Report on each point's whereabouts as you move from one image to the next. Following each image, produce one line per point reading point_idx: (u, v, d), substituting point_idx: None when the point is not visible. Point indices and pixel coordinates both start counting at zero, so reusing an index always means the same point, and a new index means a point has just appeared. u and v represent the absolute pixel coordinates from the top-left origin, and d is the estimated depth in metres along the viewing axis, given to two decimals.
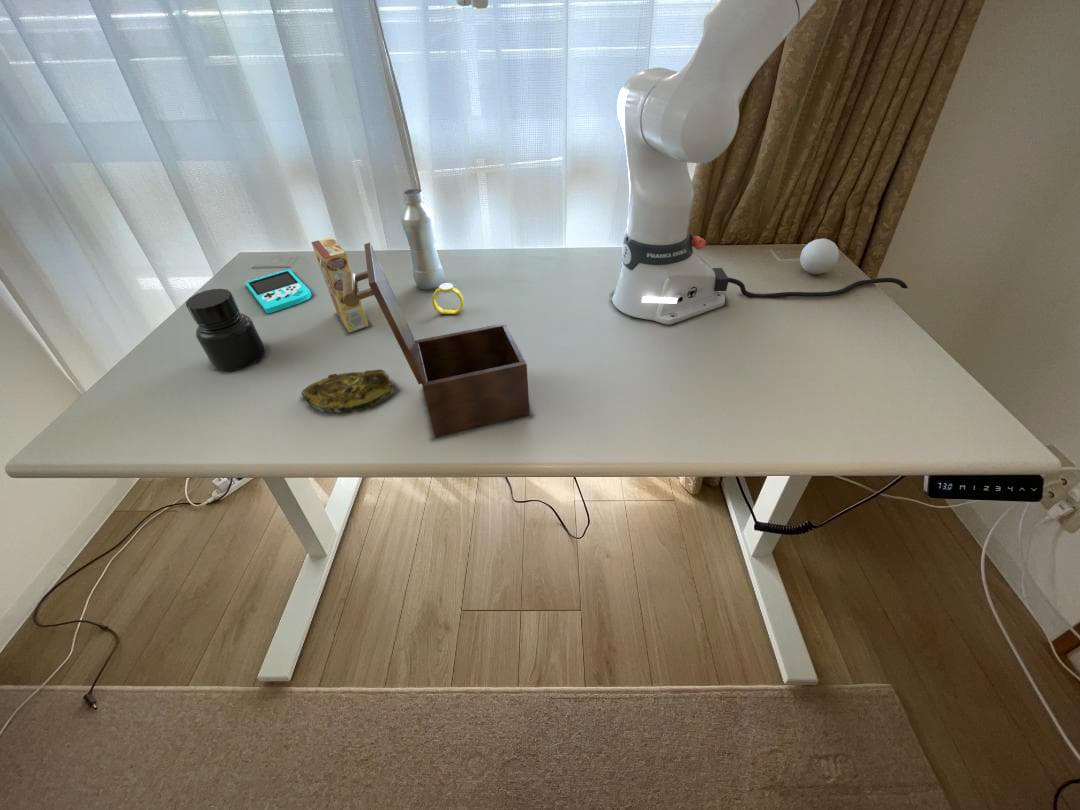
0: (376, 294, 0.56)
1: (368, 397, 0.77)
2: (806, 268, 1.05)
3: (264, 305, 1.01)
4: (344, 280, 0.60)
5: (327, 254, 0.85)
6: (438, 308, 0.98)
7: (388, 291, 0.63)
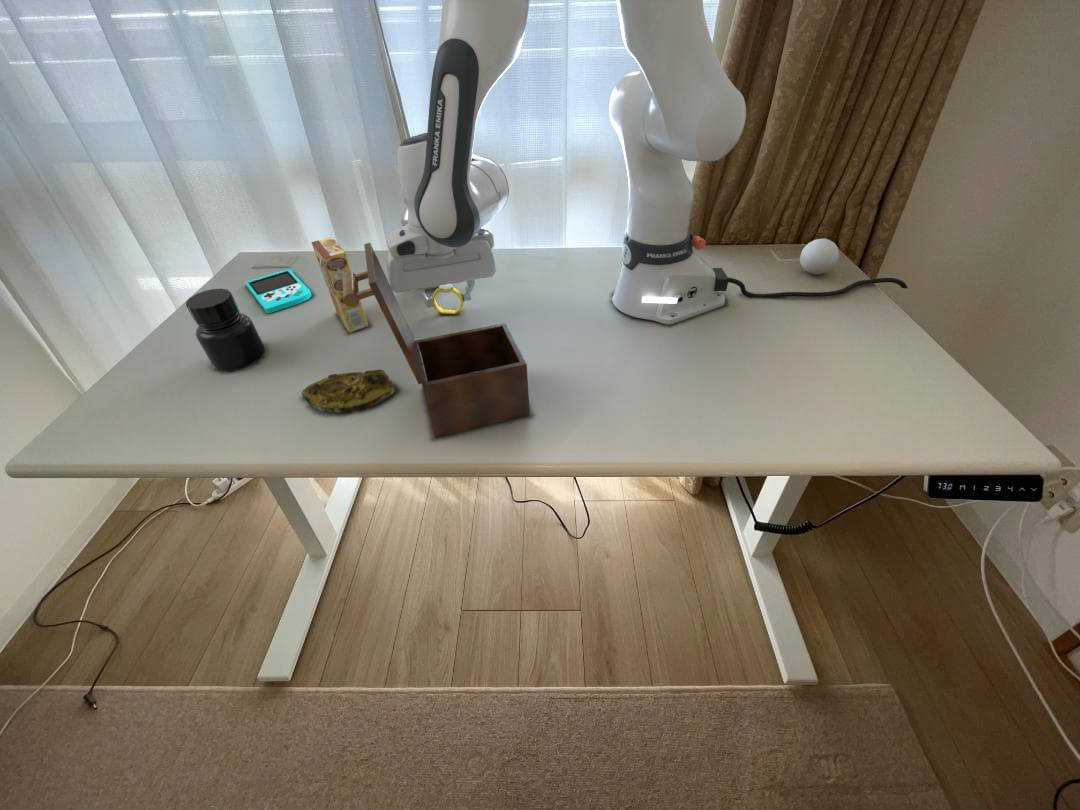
0: (376, 294, 0.56)
1: (368, 397, 0.77)
2: (806, 268, 1.05)
3: (264, 305, 1.01)
4: (344, 280, 0.60)
5: (327, 254, 0.85)
6: (438, 308, 0.98)
7: (388, 291, 0.63)
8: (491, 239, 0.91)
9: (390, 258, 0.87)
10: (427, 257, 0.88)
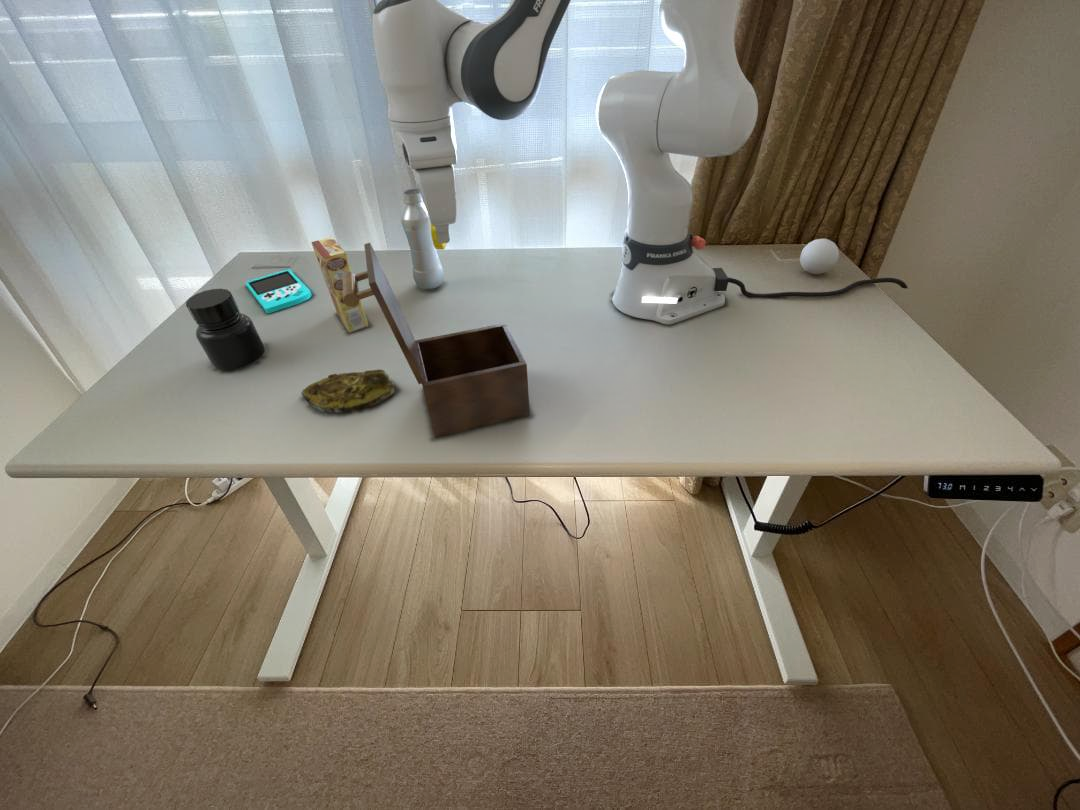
0: (376, 294, 0.56)
1: (368, 397, 0.77)
2: (806, 268, 1.05)
3: (264, 305, 1.01)
4: (344, 280, 0.60)
5: (327, 254, 0.85)
6: None
7: (388, 291, 0.63)
8: None
9: (447, 172, 0.66)
10: None
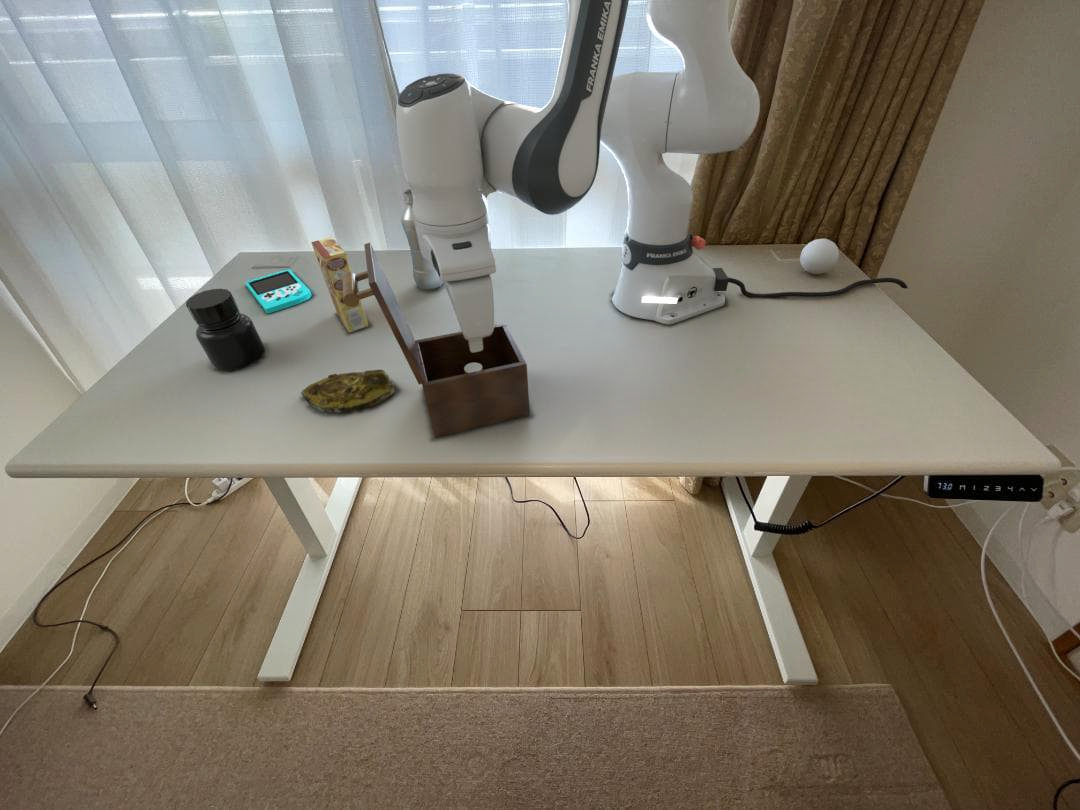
0: (376, 294, 0.56)
1: (368, 397, 0.77)
2: (806, 268, 1.05)
3: (264, 305, 1.01)
4: (344, 280, 0.60)
5: (327, 254, 0.85)
6: None
7: (388, 291, 0.63)
8: None
9: (485, 283, 0.56)
10: None
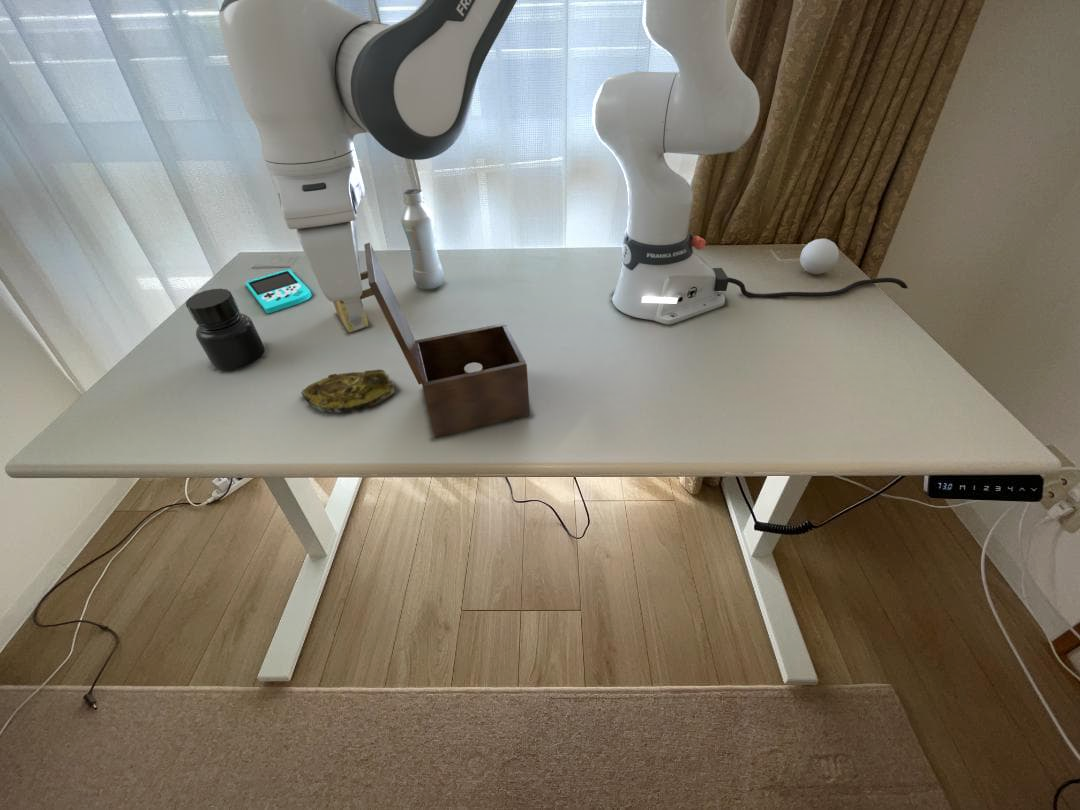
0: (376, 294, 0.56)
1: (368, 397, 0.77)
2: (806, 268, 1.05)
3: (264, 305, 1.01)
4: None
5: None
6: None
7: (388, 291, 0.63)
8: None
9: (342, 232, 0.47)
10: None
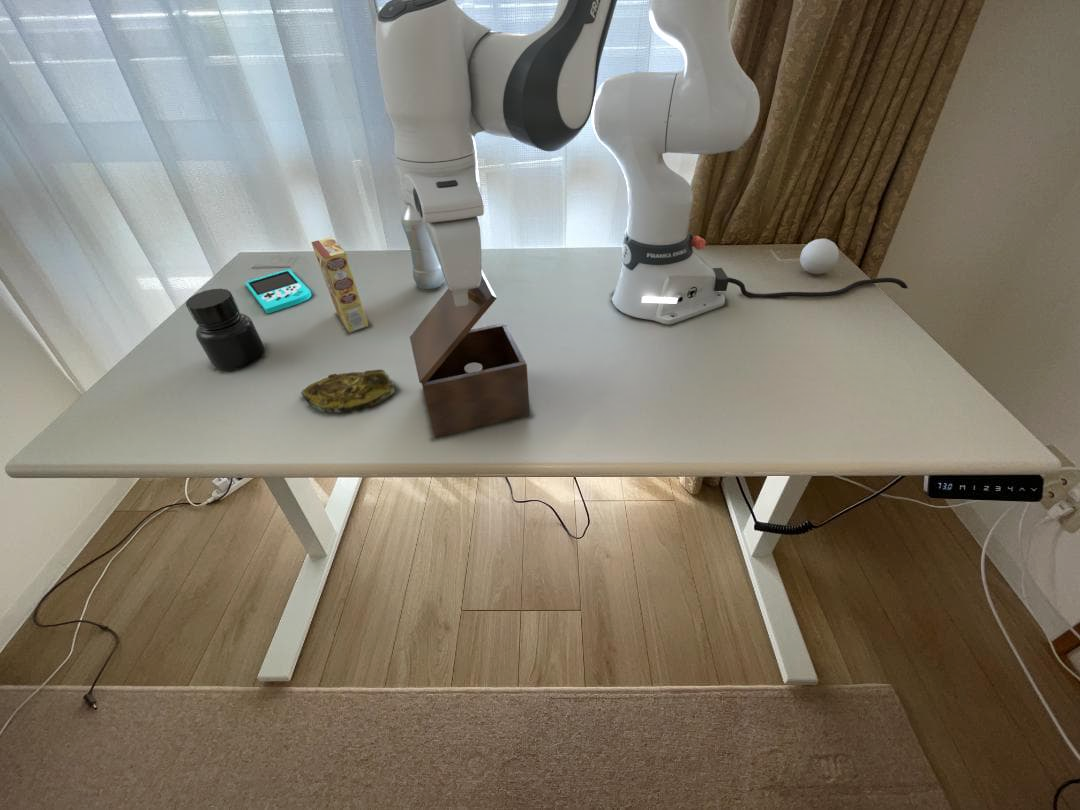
0: (486, 304, 0.61)
1: (368, 397, 0.77)
2: (806, 268, 1.05)
3: (264, 305, 1.01)
4: None
5: (327, 254, 0.85)
6: None
7: None
8: None
9: (472, 226, 0.51)
10: None
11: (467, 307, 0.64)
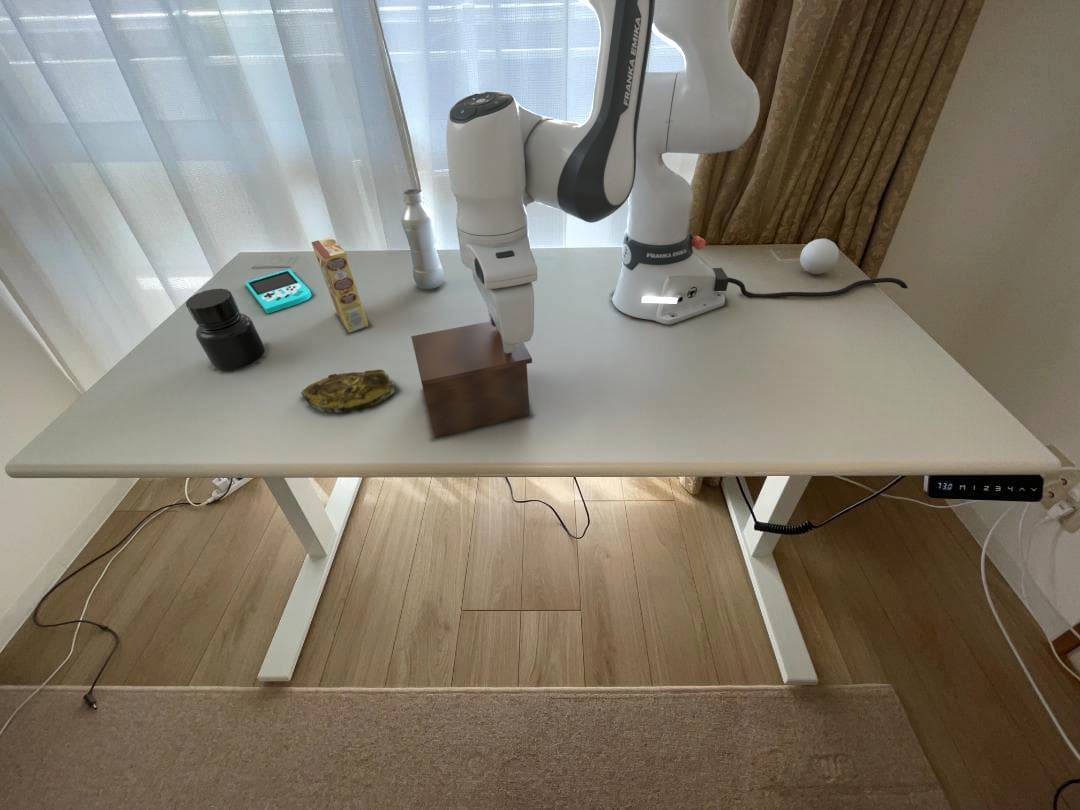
0: (522, 361, 0.68)
1: (368, 397, 0.77)
2: (806, 268, 1.05)
3: (264, 305, 1.01)
4: None
5: (327, 254, 0.85)
6: None
7: None
8: None
9: (527, 290, 0.58)
10: None
11: (498, 351, 0.70)
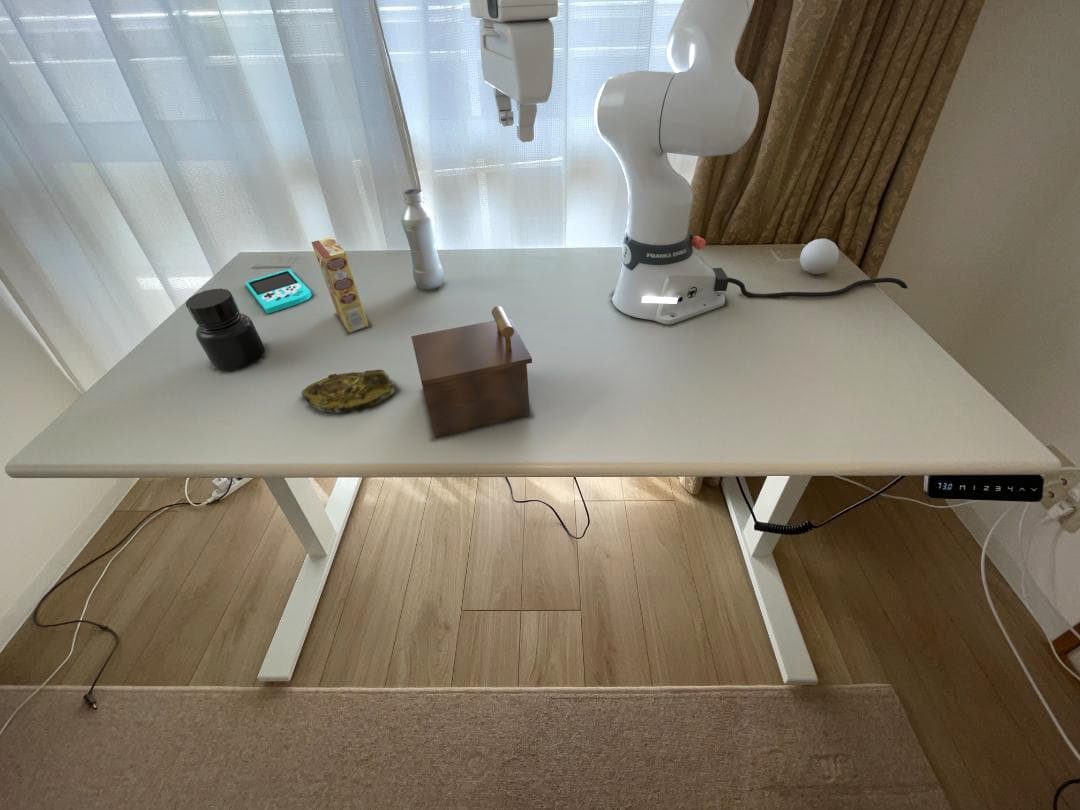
0: (522, 361, 0.68)
1: (368, 397, 0.77)
2: (806, 268, 1.05)
3: (264, 305, 1.01)
4: (505, 314, 0.70)
5: (327, 254, 0.85)
6: None
7: None
8: None
9: (546, 27, 0.51)
10: None
11: (498, 351, 0.70)
